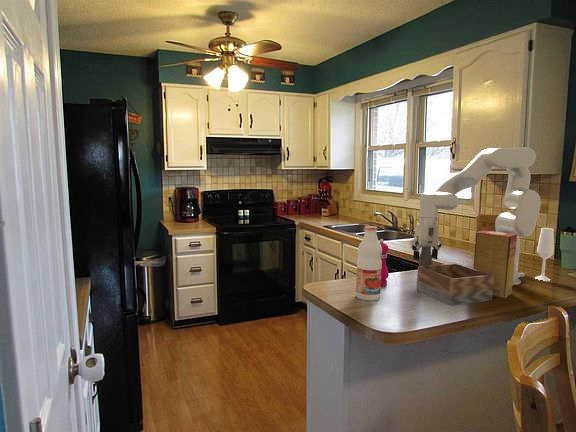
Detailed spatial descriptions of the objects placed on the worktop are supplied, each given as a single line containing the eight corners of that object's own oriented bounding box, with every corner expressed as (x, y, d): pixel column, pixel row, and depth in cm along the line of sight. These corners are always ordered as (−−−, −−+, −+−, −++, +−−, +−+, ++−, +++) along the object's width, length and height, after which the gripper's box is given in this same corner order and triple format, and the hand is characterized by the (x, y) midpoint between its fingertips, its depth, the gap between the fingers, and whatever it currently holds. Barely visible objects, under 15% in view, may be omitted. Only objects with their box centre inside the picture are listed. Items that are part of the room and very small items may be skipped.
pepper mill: (375, 280, 179) (377, 236, 177) (390, 284, 175) (393, 239, 172) (368, 284, 174) (370, 239, 171) (383, 287, 169) (385, 241, 167)
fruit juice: (367, 292, 163) (370, 224, 160) (385, 298, 156) (388, 227, 152) (350, 296, 158) (353, 225, 154) (368, 302, 150) (371, 229, 147)
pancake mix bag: (513, 272, 199) (518, 216, 195) (471, 266, 209) (475, 213, 206) (514, 269, 204) (519, 215, 201) (474, 263, 215) (478, 212, 211)
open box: (455, 285, 174) (456, 263, 173) (492, 300, 156) (494, 275, 154) (416, 289, 168) (417, 266, 166) (450, 305, 149) (452, 279, 148)
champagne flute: (546, 282, 182) (552, 230, 180) (531, 278, 188) (536, 228, 185) (553, 279, 186) (559, 229, 183) (538, 276, 192) (543, 227, 189)
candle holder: (426, 285, 174) (430, 228, 171) (414, 281, 179) (417, 226, 176) (434, 282, 178) (437, 227, 175) (421, 279, 183) (425, 225, 180)
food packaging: (512, 293, 164) (518, 233, 161) (505, 298, 158) (510, 236, 154) (479, 286, 174) (483, 229, 170) (470, 291, 167) (475, 232, 164)
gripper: (438, 219, 181) (435, 256, 183) (405, 220, 176) (403, 258, 178) (449, 221, 174) (447, 260, 176) (416, 222, 169) (414, 262, 171)
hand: (425, 259), depth 177 cm, fingers open, 9 cm apart
